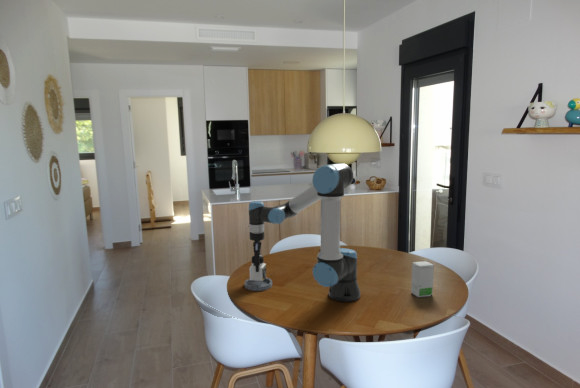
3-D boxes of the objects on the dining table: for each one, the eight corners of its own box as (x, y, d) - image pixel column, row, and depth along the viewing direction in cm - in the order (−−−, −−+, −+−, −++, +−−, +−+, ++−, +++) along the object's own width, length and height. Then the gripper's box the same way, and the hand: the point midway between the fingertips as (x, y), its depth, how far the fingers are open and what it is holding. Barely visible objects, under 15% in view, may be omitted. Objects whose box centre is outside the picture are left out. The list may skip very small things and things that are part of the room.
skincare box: (417, 297, 191) (419, 266, 189) (410, 292, 197) (411, 262, 195) (433, 295, 193) (434, 264, 191) (425, 290, 200) (426, 260, 197)
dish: (277, 285, 210) (277, 281, 209) (257, 293, 200) (257, 289, 199) (259, 278, 219) (259, 275, 219) (239, 286, 209) (239, 282, 209)
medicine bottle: (262, 281, 205) (262, 258, 203) (249, 280, 206) (248, 258, 204) (266, 276, 212) (265, 254, 210) (253, 275, 213) (252, 253, 211)
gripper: (250, 226, 215) (252, 267, 219) (247, 237, 195) (249, 282, 198) (264, 226, 215) (265, 267, 219) (263, 236, 195) (264, 281, 198)
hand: (258, 274), depth 209 cm, fingers closed on medicine bottle, 8 cm apart
